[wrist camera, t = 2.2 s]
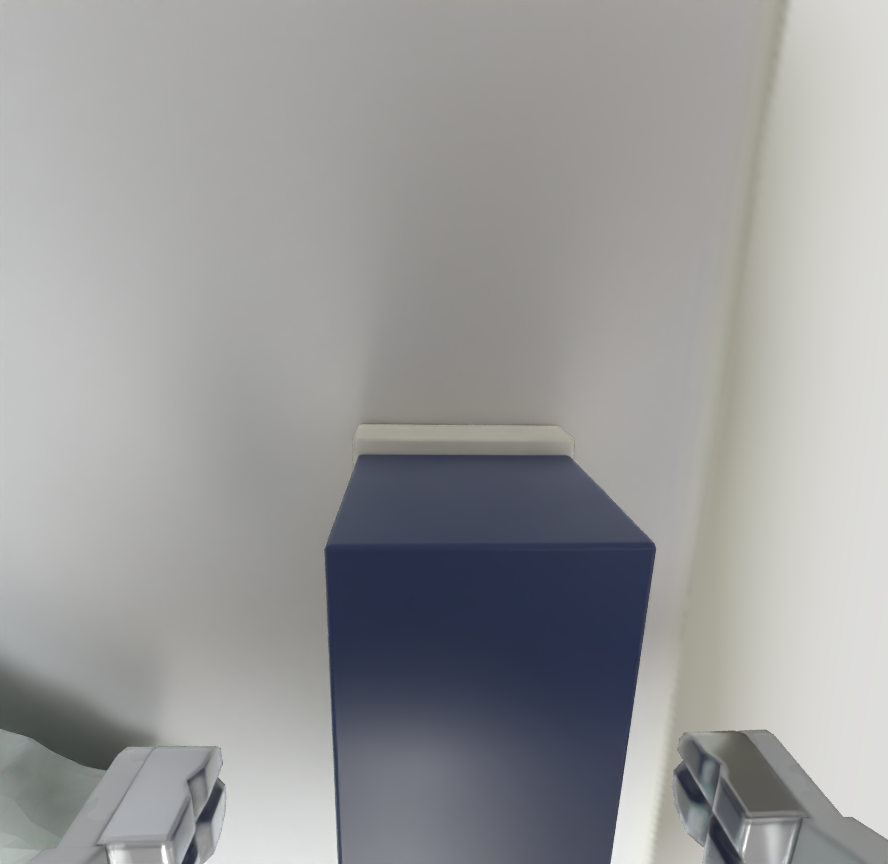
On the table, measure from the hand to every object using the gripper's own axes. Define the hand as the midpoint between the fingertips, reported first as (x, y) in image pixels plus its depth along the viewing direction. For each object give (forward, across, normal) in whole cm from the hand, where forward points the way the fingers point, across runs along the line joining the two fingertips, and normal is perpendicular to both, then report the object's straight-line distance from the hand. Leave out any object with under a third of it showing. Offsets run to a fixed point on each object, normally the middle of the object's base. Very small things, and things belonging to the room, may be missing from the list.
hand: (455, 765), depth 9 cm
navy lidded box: (+4, 0, 0) cm, 4 cm away
